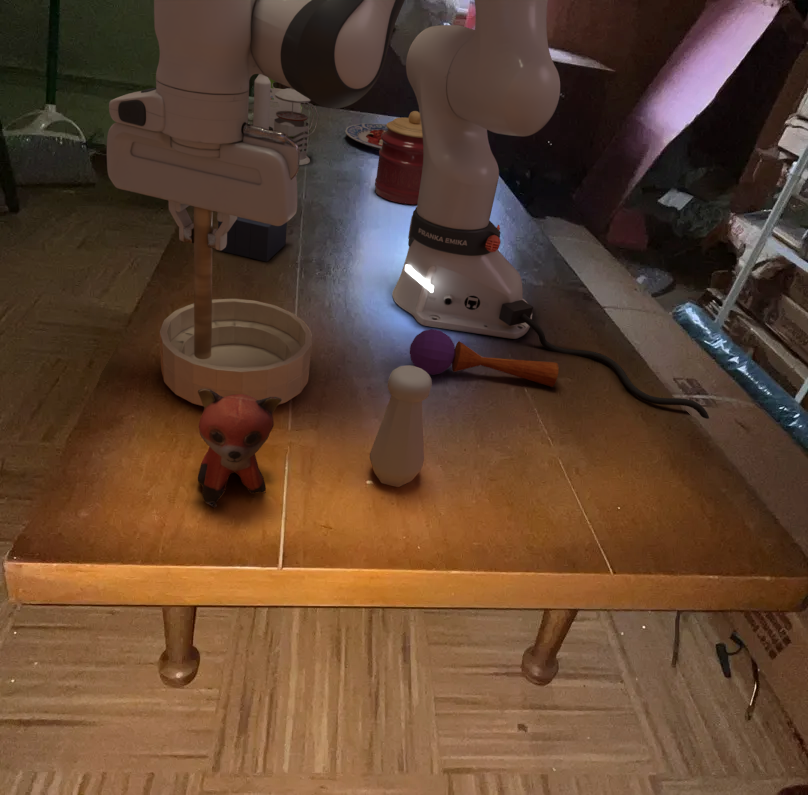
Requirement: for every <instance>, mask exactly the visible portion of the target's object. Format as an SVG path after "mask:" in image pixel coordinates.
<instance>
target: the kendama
mask: <svg viewBox="0 0 808 795" xmlns="http://www.w3.org/2000/svg"><path fill="white" fill-rule="evenodd" d="M409 356H410V361H411V363H412V364H413V366H416V367H419V368H421V369H423V370H424V371H426V372H427V373H428V374H429V375H430V376H435V375H439V374H443V373H444V372H446V371H447V370H448V369H449V368H451V371H452V372H453V373H456V372H459V371H463V370H467V369H471V368H474V367H478V366H482V367H485V368H489V369H492V370H495V371H498V372H502V373H505V374H509V375H511V376H514V377H518V378H521V379H525V380H528V381H532V382H534V383H537V384H541V385H544V386H548V387H551V388H552V387H554V386H555V384H556V382H557V380H558V376H559V364H558V363H557V362H552V361H540V360H539V361H538V360H527V359H515V358H514V359H513V358H501V357H500V358H499V357H487V356H486V357H484V356H481V355H480V354H478V352H475V351H474V350H473V349H471V348H470V347H468V346H467V345H466V344H465V343H463V342H462V341H460V340H458V341H457V342H456V344H455V343H454V341H453V340H452V338H451V337H450V335H448V334H446V333H445V332H444V331H442V330H439V329H433V328H430V329H425V330H422V331H421V332H420V333H418V334H416V336H415V337H414V338H413V340H412V341H411V343H410V346H409Z"/></svg>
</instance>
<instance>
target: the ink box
mask: <svg viewBox="0 0 808 795" xmlns="http://www.w3.org/2000/svg"><path fill="white" fill-rule="evenodd" d="M268 78H269V77H268ZM269 80H270V82H271V91H270V113H269V127H272V128H273V130H274V119H276V118H279V117H278V116H277V115H276V113H277V112H278V111H290V112H291V111H292V102H287V101H283V100H280V99H278V98H276V96H275V93H276V92H278V91H280V90H283V89H284V88H276V87H274V83H277V82H276V81H274V80H272V79H270V78H269ZM293 112H296V113H301V114H303V105H302V103H293ZM280 124H282V125H287V126H292V127H294V125H292V124H291V123H287V122H284V123H280ZM288 137H290V138H292V139H294V137H293V136H288Z"/></svg>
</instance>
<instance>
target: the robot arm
mask: <svg viewBox="0 0 808 795" xmlns="http://www.w3.org/2000/svg"><path fill="white" fill-rule="evenodd" d="M405 2H406V0H153V18H154V20H153V21H154V22H153V24H154V33H155V36H156V40H157V43H158V48H159V59H158V64H157V68H156V71H155V83H156V84H155V87H150V88H146V89H143V90H137V91H134V92H130V93H126V94H124V95H121V96H117V97H115V98H113V99H110V101H109V103H108V111H109V116H110V118H111V119H112V121H114V123H112V124H111V126H110V127H109V129H108V132H107V136H106V137H107V138H106V169H107V170H106V171H107V175H108V176H107V177H108V178H109V180H110V182H111V183H112V185H113V186H114V187H115V188H116V189H118V190H123V191H127V192H132V193H134V194H135V193H136V194H141V195H144V196H148V197H152V198H157V199H161V200H166V201H168V211H169V213H170V215H171V217H172V219H173V220H174V222H175V223H176V225H177V227H178V238H179V241H180V242H183V243H187V244H188V243H189V244H193V245H194V222H193V221H192V219H191V216H190V215H189V213H188V212H189V211H188V210H187V208H189V207H190V206H191V207H193V208H194V207H199V208H203V209H207V210H211V211H213V212H216V220H217V222H218V221H220V222H222V224H221V225H220V227H219V229H218V228H213V230H212V231H211V232H209V233H208V241H209V242H208V247H209V248H212V250H217V251H219V250H220V251H219V252H222V251H221V250H223V249H224V248H225V247H226V245H227V232H228V231H229V230H230V228H231V227H232V225H233V224H234V222H235V221H236V220H237V217H241V218H245V219H250V220H254V221H258V222H262V223H266V224H271V225H275V226H281V225H283V224H285V223H286V222H287V223H288V222H289V221H291V219H292V218H293V217H294V216H295V215H296V214H297V211H298V181H297V180H298V178H297V175H298V173H299V170H300V165H299V162H300V150H299V148H298V146H297V144H296V143H295V142H294V141H293V140H292V139H293V138H292V139H290V138H291V137H290V138H289V137H288V135H287V134H286V133H284V132H281V131H277V130H274V131H272V130H268V129H265V128H262V127H259V126H254V125H253V124H252V123H251V124H250V123H249V107H250V105H249V104H250V80H251V77H252V76H254V75H259V74H262V75H264V76H267V77H269V78H270V79H272V80H274V81H276V82H275V83H278V84H281V85H282V86H284V87H288V88H292V89H295V90H296V91H297V92H299V93H300V94H302V95H304V96H305V97H307V98H309V99H310V100H311V101H312V102H313V103H315V104H317V105H319V106H320V107H323V108H327V109H341V108H342V109H343V108H345V107H349V106H351V105H353V104H354V103H357V102H358V101H359V100H361V99H362V98H363V97H364V96H365V95H367V93H369V91H370V90H371V89H372V88H373V87H374V85H375V84H376V82H377V81H378V79H379V77H380V75H381V74H382V73H381V72H382V71H383V68H384V65H385V61H386V58H387V54H388V49H389V45H390V41H391V37H392V34H393V31H394V29H395V26H396V22H397V20H398V17H399V15H400V13H401V11H402V8H403V6H404V3H405ZM548 2H549V0H474V7H475V8H474V10H475V21H474V22H475V25H474V28H469V27H467V26H463V25H459V24H441V25H433V26H429V27H426V28H424V29H423V30H422V31H421V32H419V33H418V34H417V36H415V38H414V40H413V41H412V43H411V44H410V46H409V49H408V52H407V55H406V60H405V61H406V62H405V71H406V77H407V80H408V82H409V84H410V86H411V88H412V90H413V92H414V95H415V97H416V98H415V99H416V101H417V106H418V110H419V111H418V112H419V113H420V118H421V125H422V135H423V168H422V176H421V183H420V190H419V197H418V204H416V207H415V209H414V210H413V211H412V215H411V218H410V223H409V230H408V236H407V239H408V243H407V244H408V250H407V253H406V256H405V260H404V264H403V266H402V269H401V271H400V275H399V277H398V280H397V282H396V284H395V286H394V288H393V290H392V291H391V292H392V295H391V296H392V298H393V301H394V302H395V303H396V304H397V305H398V307H400V308H402V310H404V311H406V312H408V314H410V315H412V316H413V318H414V319H415V321H416V322H417V323H419V324H420V325H421V326H426V327H432V328H437V329H444V330H452V331H458V332H463V333H464V332H465V333H470V334H471V333H472V334H478V335H484V336H490V337H498V338H504V339H511V340H512V339H513V340H517V339H519V338H521V337H523V336H525V335H526V334H527V333H528V331H529V330H530V328H531V329H532V330H533V331H534V332H536V334H537V336H538V340H539V343H540V345H541V346H542V347H543V348H545V349H546V350H548V351H551V352H554V353H559V354H566V355H572V356H578V357H585V358H590V359H595V360H598V361H600V362H603V363H605V364H607V365H608V366H609V367H611V368H612V369H613V371H615V373H617V375H618V377H619V378H620V380H621V382H622V383H623V384H624V386H625V387H626V388H627V389H628V390H629V391H630V392H631V393H632V394H633V395H634V396H636V397H638V398H639V399H641V400H642V401H644V402H648V403H650V404H654V405H663V406H682V407H683V406H685V407H688V408H691V409H693V410H695V412H697V413H698V414H699V416H700V417H701V418H703V419H707V420H708V419H710V416H709V413H708V412H707V410H706V408H704V407H703V405H702V404H700V403H698V402H697V401H694V400H692V399H688V398H682V397H681V398H680V397H679V398H676V397H658V396H653V395H651V394H647V393H646V392H644V391H642V390H641V389H639V388H637V386H636V385H634V384H633V382H632V381H631V380H630V378H629V377H628V375H627V373H626V372H625V371H624V369H623V367H622V366H621V365H619V363H617V362H616V361H615V360H614V359H612V358H610V357H608V356H606V355H604V354H601V353H598V352H595V351H591V350H583V349H573V348H572V349H571V348H564V347H559V346H556V345H555V344H552V343H551V342H549V341H548V340H547V339H546V335H545V332H544V330H543V329H542V328H541V327H540V325H539V324H538V323H536V322H535V321H534V320H533V310H534V306H533V305H531V304H529V302H528V301H526V299H525V298H523V296H524V288H523V280H522V277H521V274H520V272H519V271H518V270H517V269H516V268H515V267H514V266H513V265H512V264H511V263H510V262H509V260H508V259H507V258H506V256H504V255H503V254H502V253H501V251H500V250H499V248H500V245H501V241H502V240H501V227H500V225H499V224H497V226H496V225H495V224H494V223H493V222H492V221H491V215H492V211H493V206H494V201H495V197H496V193H497V188H498V184H499V179H500V169H499V165H498V162H497V159H496V158H495V156H494V154H493V151H492V150H491V146H490V143H489V137H488V136H489V135H488V131H489V132H492V133H494V134H498V135H505V136H514V137H529V136H532V135H534V134H537V133H538V132H539V131H541V130H542V129H543V128H544V127H545V126H546V125H547V124H548V123H549V121H550V120H551V118H552V117H553V115H554V113H555V111H556V109H557V106H558V104H559V100H560V96H561V95H560V94H561V81H560V80H561V79H560V74H559V71H558V69H557V67H556V65H555V64H554V61H553V58H552V55H551V53H550V47H549V42H548V30H547V28H548V26H547V24H548V23H547V19H548V18H547V17H548ZM287 142H289V143H290V144H291V145H290V144H286V143H287Z"/></svg>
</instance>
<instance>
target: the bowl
mask: <svg viewBox="0 0 808 795" xmlns="http://www.w3.org/2000/svg"><path fill="white" fill-rule="evenodd" d="M312 339H313V333H312V331H311V329H310V328H309V326H308V324H307V323H306V322H305V321H304V320H303V319H301V318H300V317H299V316H298V315H297V314H295V313H293V312H292V311H289V310H287V309H284V308H282V307H280V306H278V305H276V304H270V303H267V302H262V301H259V300H254V299H253V300H251V299H242V298H216V299H214V298H213V299H212V347H211V357H210V358H208V359H198V358H196V357H195V355H194V302H193V303H190V304H188V305H186V306H183V307H181V308H178V309H176V310H174V311H173V312H171V314H169V315H168V316H167V317H166V318H164V320H163V322H162V324H161V327H160V329H159V351H160V352H159V354H160V356H159V357H160V371H161V375H162V378H163V382H164V384H165V385H166V386H167V387H168V388H169V389H170V390H171V392H172V393H174V395H176V396H178V397H180V398H181V399H183V400H185V401H187V402H189V403H191V404H194V405H198V406H200V407H204V406H203V404H202V401H201V399H200V396H199V394H198V390H200V389H210V390H212V391H214V392H215V393H217V394H218V395H220V396H222V397H226V396H229V395H235V394H245V395H248V396H251V397H253V398H255V399H257V400H262V399H265V398H268V397H278V398H281V399H282V401H281V402H280V403H279V404H278V406H279V405H282V404H285V403H288V402H289V401H291V400H292V399H294V398H295V397H296V396H298V395H300V394H301V393H302V391H303V390H304V388H305V387H306V386H307V384H308V383H309V374H310V365H311V364H310V363H311V354H312Z"/></svg>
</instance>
